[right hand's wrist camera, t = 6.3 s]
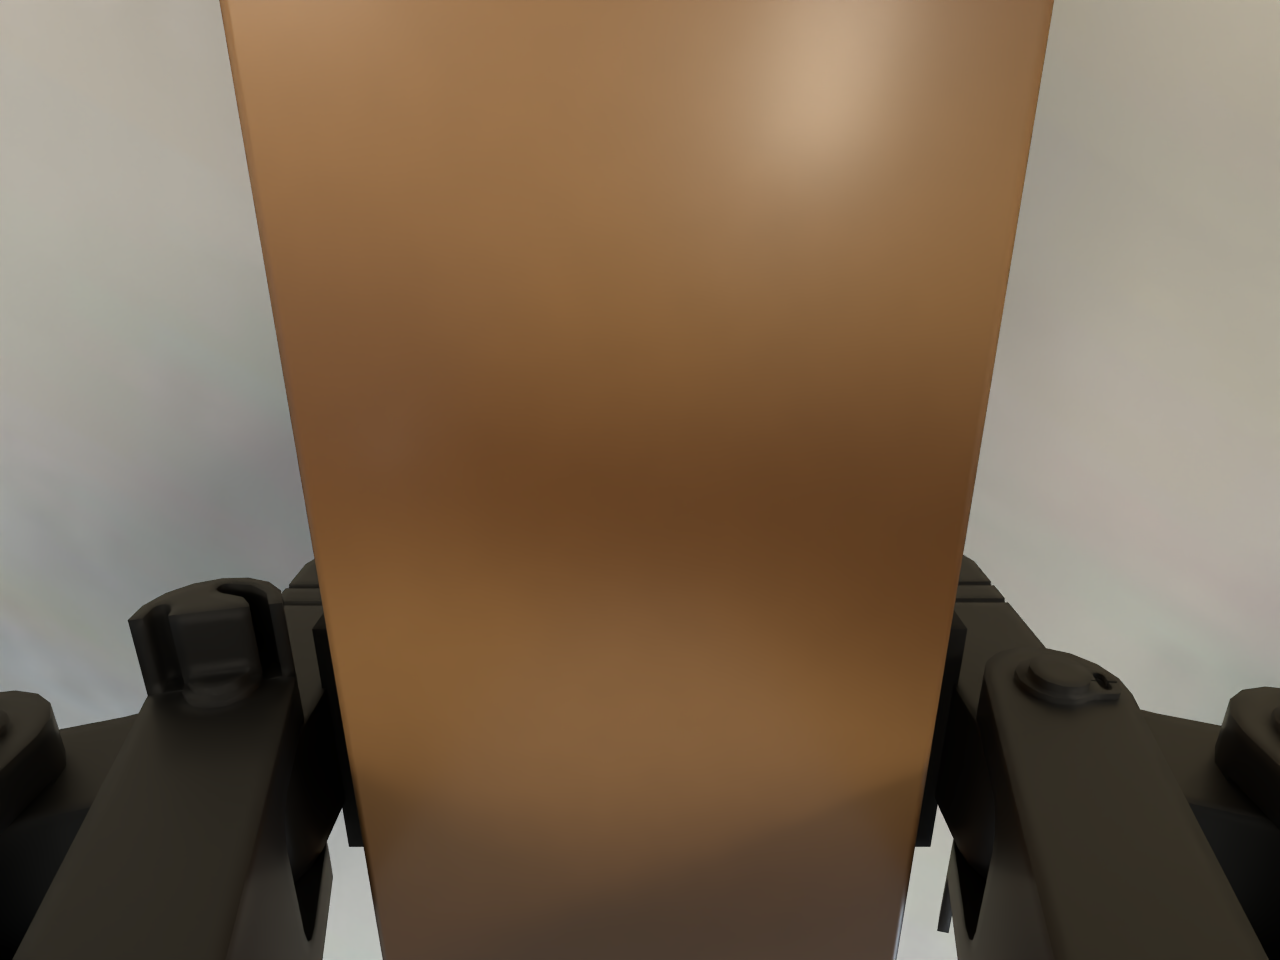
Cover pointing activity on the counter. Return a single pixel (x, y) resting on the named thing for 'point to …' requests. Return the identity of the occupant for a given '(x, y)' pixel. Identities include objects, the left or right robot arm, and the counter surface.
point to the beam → (638, 441)
